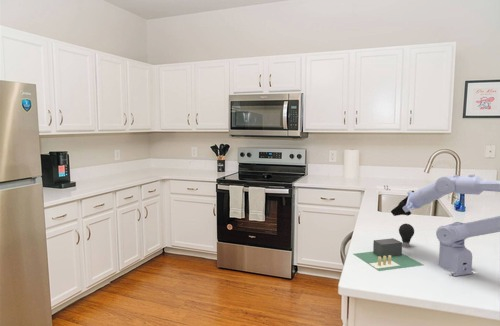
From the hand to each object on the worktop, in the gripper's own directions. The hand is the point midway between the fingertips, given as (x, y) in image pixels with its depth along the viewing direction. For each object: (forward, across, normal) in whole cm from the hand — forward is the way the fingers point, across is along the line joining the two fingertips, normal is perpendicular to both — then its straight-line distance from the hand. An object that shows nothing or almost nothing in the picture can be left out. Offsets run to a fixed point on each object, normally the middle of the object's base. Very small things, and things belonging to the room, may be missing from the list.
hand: (397, 209), depth 135 cm
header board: (+4, +18, +12) cm, 22 cm away
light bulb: (+8, 0, +15) cm, 17 cm away
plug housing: (+6, +13, +11) cm, 18 cm away
